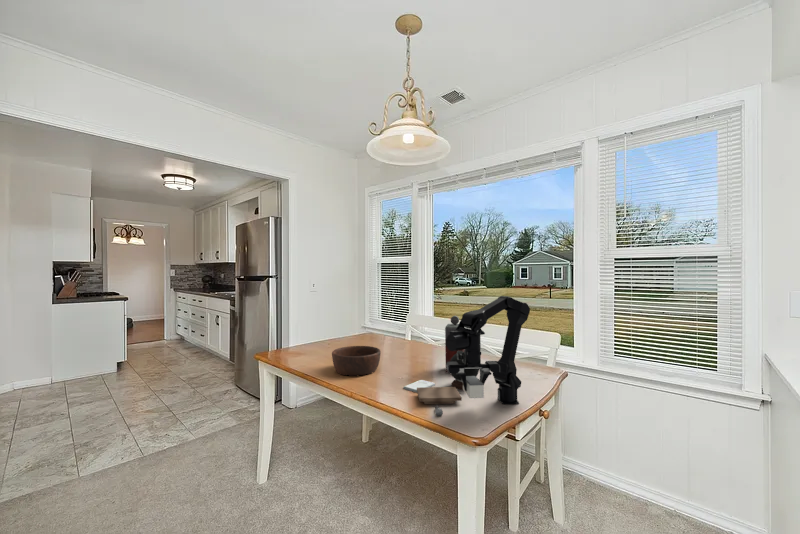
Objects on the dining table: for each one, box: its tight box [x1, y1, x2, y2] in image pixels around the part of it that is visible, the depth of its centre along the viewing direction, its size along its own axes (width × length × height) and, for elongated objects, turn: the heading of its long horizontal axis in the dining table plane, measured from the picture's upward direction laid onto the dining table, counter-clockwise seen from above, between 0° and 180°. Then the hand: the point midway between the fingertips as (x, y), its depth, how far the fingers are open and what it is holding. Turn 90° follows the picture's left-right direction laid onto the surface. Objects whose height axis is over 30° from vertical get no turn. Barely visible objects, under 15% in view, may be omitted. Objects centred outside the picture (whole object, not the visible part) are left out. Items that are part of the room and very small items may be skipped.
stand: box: [416, 386, 462, 405], centre depth 137 cm, size 16×12×3 cm
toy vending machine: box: [444, 315, 464, 374], centre depth 178 cm, size 9×11×28 cm
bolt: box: [434, 404, 444, 417], centre depth 125 cm, size 6×3×3 cm, turn 2°
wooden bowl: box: [331, 345, 382, 377], centre depth 179 cm, size 25×25×10 cm
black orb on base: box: [450, 352, 480, 391], centre depth 154 cm, size 13×13×15 cm
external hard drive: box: [403, 379, 436, 393], centre depth 153 cm, size 2×8×12 cm
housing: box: [462, 376, 485, 399], centre depth 126 cm, size 9×5×5 cm, turn 5°
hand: (472, 390), depth 126 cm, fingers closed on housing, 5 cm apart
